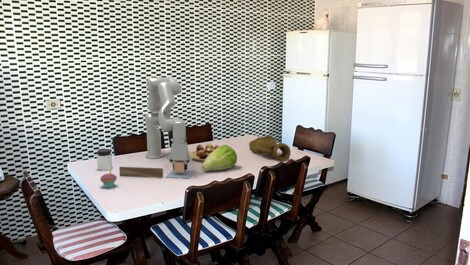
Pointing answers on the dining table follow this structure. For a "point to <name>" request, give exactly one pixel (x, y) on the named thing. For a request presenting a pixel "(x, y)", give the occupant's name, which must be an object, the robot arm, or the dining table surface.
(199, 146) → the wooden plate with food
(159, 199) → the dining table surface
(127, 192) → the dining table surface
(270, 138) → the brown looped sculpture
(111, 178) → the cupcake
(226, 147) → the lettuce
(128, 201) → the dining table surface
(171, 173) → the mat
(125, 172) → the walnut screen
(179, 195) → the dining table surface
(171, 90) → the robot arm
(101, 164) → the jar
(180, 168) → the lettered cube
